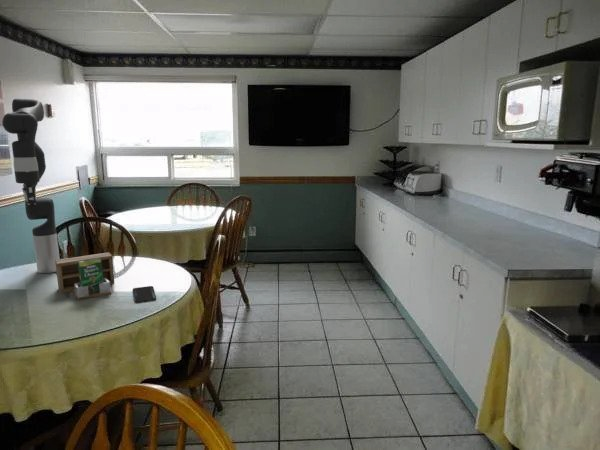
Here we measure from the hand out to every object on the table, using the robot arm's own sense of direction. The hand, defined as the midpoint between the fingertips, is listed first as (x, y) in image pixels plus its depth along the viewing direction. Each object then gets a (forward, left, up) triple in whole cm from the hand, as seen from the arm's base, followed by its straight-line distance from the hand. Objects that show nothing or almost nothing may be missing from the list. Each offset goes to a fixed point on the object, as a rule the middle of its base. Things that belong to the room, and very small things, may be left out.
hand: (31, 213), depth 162 cm
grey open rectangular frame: (+12, +16, -32) cm, 38 cm away
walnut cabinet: (+6, +16, -32) cm, 36 cm away
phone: (+24, +32, -33) cm, 52 cm away
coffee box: (+12, +16, -32) cm, 37 cm away
